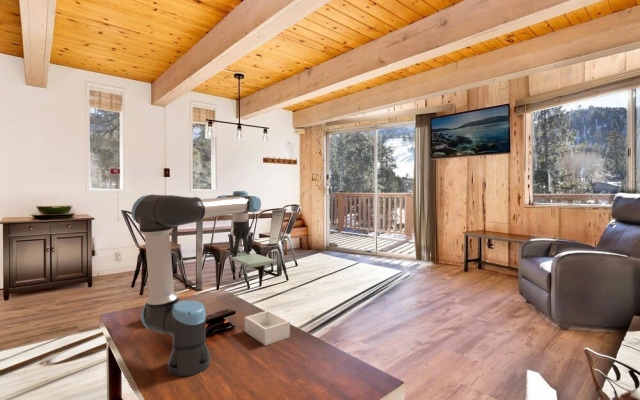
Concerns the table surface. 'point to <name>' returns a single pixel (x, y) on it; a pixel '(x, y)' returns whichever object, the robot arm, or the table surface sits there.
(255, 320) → the tub
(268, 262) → the lid
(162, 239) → the robot arm
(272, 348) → the table surface
